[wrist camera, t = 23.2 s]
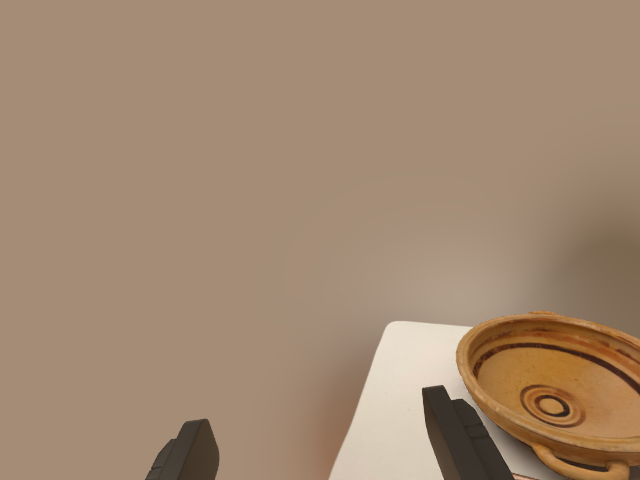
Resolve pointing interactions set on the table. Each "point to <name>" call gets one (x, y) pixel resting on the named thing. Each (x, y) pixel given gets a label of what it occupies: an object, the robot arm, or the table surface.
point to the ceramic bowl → (559, 389)
